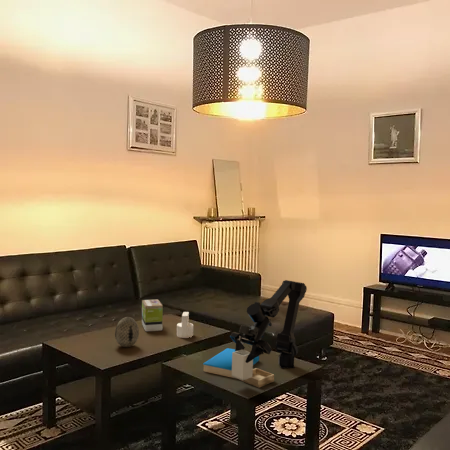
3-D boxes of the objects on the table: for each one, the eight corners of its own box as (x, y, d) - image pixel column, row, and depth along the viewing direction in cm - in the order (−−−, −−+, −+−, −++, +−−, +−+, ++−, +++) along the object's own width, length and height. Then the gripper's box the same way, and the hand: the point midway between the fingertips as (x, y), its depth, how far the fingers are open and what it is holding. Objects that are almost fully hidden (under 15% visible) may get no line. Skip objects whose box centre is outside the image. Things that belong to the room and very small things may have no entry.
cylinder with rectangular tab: (192, 338, 264) (193, 316, 263) (175, 337, 264) (176, 315, 264) (193, 333, 273) (194, 312, 272) (177, 332, 273) (178, 311, 273)
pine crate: (255, 374, 215) (256, 368, 215) (274, 381, 208) (274, 374, 208) (240, 380, 208) (240, 373, 207) (258, 387, 201) (259, 380, 201)
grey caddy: (241, 372, 204) (242, 349, 204) (252, 376, 200) (253, 352, 200) (231, 376, 200) (232, 352, 199) (242, 380, 196) (243, 356, 195)
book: (202, 363, 217) (226, 347, 239) (202, 373, 217) (226, 355, 240) (238, 370, 209) (259, 353, 232) (238, 380, 210) (259, 362, 232)
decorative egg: (112, 344, 249) (112, 315, 248) (134, 341, 255) (135, 313, 253) (118, 351, 239) (118, 321, 238) (141, 348, 244) (142, 319, 243)
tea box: (141, 324, 288) (141, 299, 287) (158, 323, 291) (158, 298, 290) (144, 331, 274) (145, 305, 273) (162, 330, 277) (163, 304, 276)
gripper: (233, 313, 208) (214, 343, 201) (268, 322, 195) (249, 355, 188) (245, 327, 214) (227, 358, 207) (279, 337, 201) (261, 370, 194)
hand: (240, 360), depth 199 cm, fingers closed on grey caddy, 6 cm apart
